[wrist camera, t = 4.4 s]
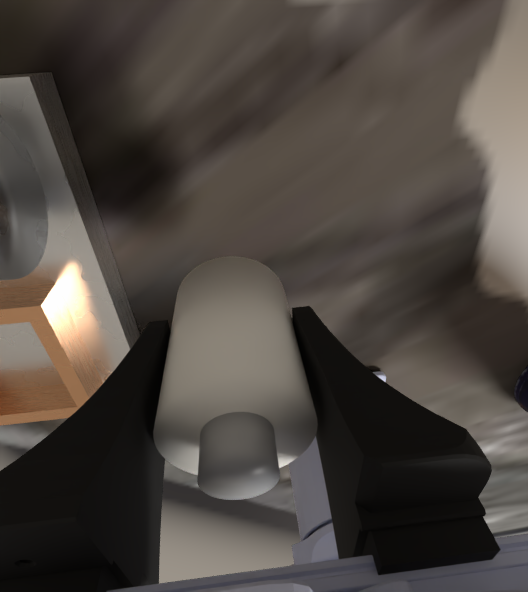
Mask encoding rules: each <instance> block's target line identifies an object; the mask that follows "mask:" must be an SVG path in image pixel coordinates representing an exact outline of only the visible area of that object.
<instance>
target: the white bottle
mask: <svg viewBox="0 0 528 592" xmlns="http://www.w3.org/2000/svg"><path fill="white" fill-rule="evenodd" d="M317 427H318V422H317V416H316V412H315V408H314V404H313V400H312V397H311V393H310V389H309V385H308V381H307V377H306V373H305V369H304V365H303V361H302V358H301V354H300V350H299V346H298V342H297V338H296V334H295V330H294V326H293V322H292V318H291V315H290V311H289V307H288V303H287V299H286V295H285V291H284V288H283V285H282V283H281V281H280V280H279V278H278V276H277V275H276V274H275V273H274V272H273V271H272V270H271V269H269V268H268V267H267V266H265V265H264V264H262V263H260V262H258V261H255V260H252V259H249V258H245V257H237V256H225V257H219V258H215V259H211V260H209V261H206V262H204V263H202V264H200V265H198V266H197V267H195V268H194V269H193V270H191V271H190V272H189V273H188V274H187V275H186V277H185V278H184V279H183V281H182V283H181V284H180V286H179V289H178V292H177V298H176V303H175V309H174V315H173V321H172V327H171V332H170V338H169V344H168V350H167V355H166V361H165V367H164V373H163V379H162V384H161V390H160V396H159V402H158V407H157V413H156V419H155V425H154V430H153V438H154V442H155V445H156V447H157V449H158V451H159V452H160V454H161V455H162V456H163V457H164V458H165V459H166V460H167V461H168V462H170V463H171V464H172V465H174V466H176V467H177V468H179V469H181V470H184V471H186V472H189V473H192V474H195V475H198V485H199V487H200V489H201V490H202V491H204V492H205V493H206V494H208V495H210V496H212V497H216V498H220V499H227V500H239V499H247V498H252V497H255V496H258V495H261V494H263V493H265V492H267V491H269V490H270V489H272V488H273V487H274V486H275V485H276V484H277V482H278V481H279V478H280V470H279V468H281V467H283V466H285V465H287V464H289V463H290V462H292V461H294V460H295V459H296V458H298V457H299V456H300V455H302V454H303V453H304V452H305V451H306V450H307V448H308V447H309V446H310V445H311V443H312V442H313V440H314V438H315V435H316V433H317Z"/></svg>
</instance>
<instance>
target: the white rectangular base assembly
mask: <svg viewBox="0 0 528 592" xmlns="http://www.w3.org/2000/svg"><path fill="white" fill-rule="evenodd" d="M139 337H140V334H139V331H138V328H137V325H136V322H135V319H134V316H133V313H132V310H131V307H130V304H129V301H128V298H127V295H126V292H125V289H124V286H123V283H122V280H121V277H120V274H119V271H118V268H117V265H116V262H115V260H114V257H113V254H112V251H111V248H110V245H109V242H108V239H107V236H106V233H105V230H104V227H103V224H102V221H101V218H100V215H99V212H98V209H97V206H96V203H95V200H94V197H93V194H92V191H91V188H90V185H89V182H88V179H87V176H86V173H85V170H84V168H83V165H82V162H81V159H80V156H79V153H78V150H77V147H76V144H75V141H74V138H73V135H72V132H71V129H70V126H69V123H68V120H67V117H66V114H65V111H64V108H63V105H62V102H61V99H60V96H59V93H58V90H57V87H56V84H55V81H54V78H53V76H52V73H51V72H45V73H30V74H14V75H0V425H9V424H17V423H26V422H35V421H44V420H53V419H62V418H69V417H70V416H71V415H73V414H74V413H75V412H76V411H77V410H78V409H79V408H80V407H81V406H82V405H83V404H84V403H85V402H86V401H87V400H88V399H89V398H90V397H91V396H92V395H93V394H94V393H95V392H96V391H97V390H98V389H99V387H100V386H101V385H102V384H103V383H104V382H105V380H106V379H107V378H108V377H109V376H110V375H111V373H112V372H113V371H114V370H115V369H116V367H117V366H118V365H119V364H120V362H121V361H122V360H123V358H124V357H125V356H126V354H127V353H128V352H129V350H130V349H131V348H132V346H133V345H134V344H135V342H136V341H137V339H138V338H139Z"/></svg>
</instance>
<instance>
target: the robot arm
mask: <svg viewBox="0 0 528 592" xmlns="http://www.w3.org/2000/svg"><path fill="white" fill-rule="evenodd" d="M292 322H293V326H294V330H295V334H296V338H297V342H298V346H299V350H300V354H301V358H302V361H303V365H304V369H305V373H306V377H307V381H308V385H309V389H310V393H311V397H312V400H313V404H314V408H315V412H316V416H317V422H318V427H317V433H316V435H315V438H314V440H313V442H312V443H311V445H310V446H309V447H308V448H307V450H306V451H305V452H304V453H303V454H302V455H300V456H299V457H298V458H296V459H295V460H294V461H292V462H290V463H289V469H290V476H291V482H292V488H293V494H294V501H295V507H296V513H297V519H298V525H299V532H300V538H301V542H299V543H296V544H294V545H292V551H293V558H294V564H293V565H291V566H286V567H278V568H271V569H263V570H256V571H249V572H241V573H234V574H226V575H219V576H212V577H205V578H197V579H190V580H182V581H175V582H167V583H160V584H159V553H160V527H161V508H162V492H163V477H164V464H165V458H164V457H163V456H162V455H161V454H160V452H159V451H158V449H157V447H156V445H155V442H154V438H153V430H154V425H155V419H156V413H157V407H158V402H159V396H160V390H161V384H162V379H163V373H164V367H165V361H166V355H167V350H168V344H169V338H170V328H169V324H168V321H167V320H165V321H155V322H150V323H149V324H148V325H147V327H146V328H145V329H144V331H143V332H142V334H141V335H140V337H139V338H138V339H137V341H136V342H135V344H134V345H133V346H132V348H131V349H130V350H129V352H128V353H127V354H126V356H125V357H124V358H123V360H122V361H121V362H120V364H119V365H118V366H117V367H116V369H115V370H114V371H113V372H112V373H111V375H110V376H109V377H108V378H107V379H106V380H105V382H104V383H103V384H102V385H101V386H100V387H99V389H98V390H97V391H96V392H95V393H94V394H93V395H92V396H91V397H90V398H89V399H88V400H87V401H86V402H85V403H84V404H83V405H82V406H81V407H80V408H79V409H78V410H77V411H76V412H75V413H74V414H73V415H71V416H70V417H69V418H68V419H67V420H66V421H65V422H63V423H62V424H61V425H60V426H59V427H58V428H57V429H56V430H54V431H53V432H52V433H51V434H50V435H48V436H47V437H46V438H45V439H43V440H42V441H41V442H40V443H38V444H37V445H36V446H34V447H33V448H32V449H30V450H29V451H28V452H26V453H25V454H24V455H22V456H21V457H20V458H19V459H17V460H16V461H14V462H13V463H11V464H10V465H8V466H7V467H6V468H4V469H3V470H1V471H0V592H528V534H522V535H514V536H507V537H500V538H494V536H493V535H492V533H491V531H490V529H489V527H488V526H487V524H486V522H485V520H484V518H483V516H485V514H486V512H485V509H484V507H483V505H482V504H481V502H480V500H479V498H478V497H479V495H480V493H481V492H482V490H483V488H484V487H485V485H486V483H487V482H488V480H489V477H490V475H491V472H492V469H491V464H490V462H489V461H488V459H487V458H486V456H485V455H484V453H483V451H482V450H481V448H480V447H479V445H478V444H477V443H476V441H475V440H474V439H473V438H472V436H471V435H470V434H469V432H468V431H467V430H466V429H465V428H463V427H461V426H459V425H457V424H455V423H453V422H451V421H449V420H447V419H445V418H443V417H441V416H439V415H437V414H435V413H433V412H431V411H430V410H428V409H426V408H424V407H423V406H421V405H419V404H417V403H416V402H414V401H412V400H411V399H409V398H408V397H406V396H405V395H403V394H402V393H400V392H399V391H397V390H396V389H394V388H393V387H391V386H390V385H388V384H387V383H385V382H386V376H385V374H384V373H383V372H379V371H378V372H371V371H370V370H369V369H368V368H367V367H365V366H364V365H363V364H362V363H361V362H360V361H359V360H358V359H356V358H355V357H354V356H353V355H352V354H351V353H350V352H349V351H348V350H347V349H346V348H345V347H344V346H343V345H342V344H341V343H340V342H339V341H338V339H337V338H336V337H335V336H334V335H333V334H332V333H331V332H330V331H329V330H328V328H327V327H326V326H325V325H324V324H323V322H322V321H321V320H320V319H319V317H318V316H317V315H316V313H315V312H314V311H313V309H312V308H311V307H309V306H306V307H296V308H292Z"/></svg>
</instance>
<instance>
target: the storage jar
mask: <svg viewBox="0 0 528 592" xmlns="http://www.w3.org/2000/svg"><path fill="white" fill-rule="evenodd" d="M514 395H515V399H516V401H517V402H518V403H519V405H520V406H521V407H522V408H523V409H524V410H525V411H526V412H528V366H527V368H526V369H525V370H524V371H523V372H522V374H521V375H520V377H519V379H518V381H517V383H516V386H515V389H514Z"/></svg>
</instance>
